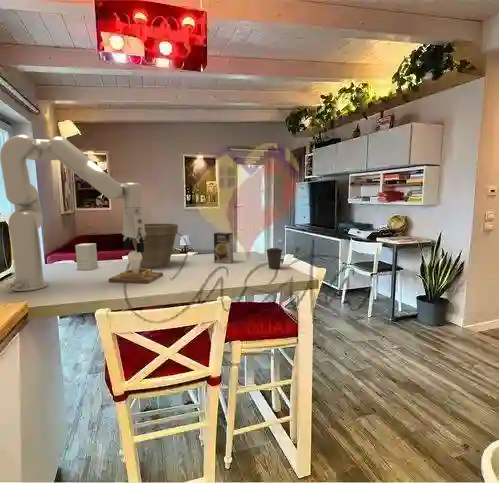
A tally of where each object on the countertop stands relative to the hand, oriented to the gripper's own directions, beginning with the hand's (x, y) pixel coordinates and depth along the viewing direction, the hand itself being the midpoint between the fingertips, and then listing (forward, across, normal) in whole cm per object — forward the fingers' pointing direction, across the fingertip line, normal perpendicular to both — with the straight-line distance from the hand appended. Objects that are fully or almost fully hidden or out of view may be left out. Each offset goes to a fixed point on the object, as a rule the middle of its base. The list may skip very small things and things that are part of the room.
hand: (133, 250), depth 157 cm
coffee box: (+12, -4, -52) cm, 54 cm away
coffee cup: (+11, -36, -56) cm, 67 cm away
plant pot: (+12, +19, -24) cm, 33 cm away
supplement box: (+13, +40, +2) cm, 42 cm away
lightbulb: (+11, 0, -1) cm, 11 cm away
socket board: (+12, 0, -1) cm, 13 cm away
